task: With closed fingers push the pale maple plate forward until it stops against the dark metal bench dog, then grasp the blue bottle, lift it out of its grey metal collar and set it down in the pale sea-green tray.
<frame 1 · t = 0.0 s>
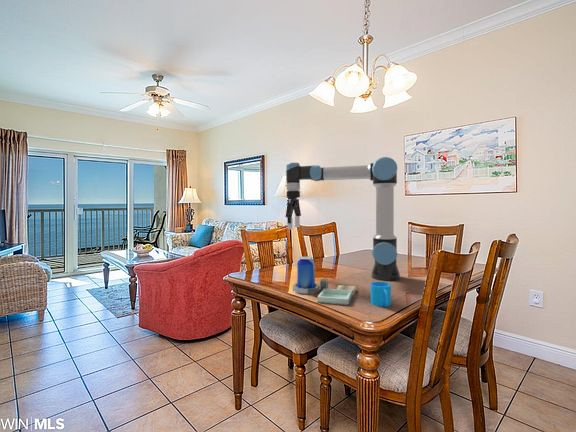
hand: (293, 228, 176), 28 cm above the table, fingers open, 13 cm apart
dog: (324, 290, 151), on the table
plate: (346, 293, 148), on the table
mug: (382, 305, 129), on the table
blue bottle: (306, 290, 152), resting in collar
collar: (306, 290, 152), on the table
tray: (335, 299, 138), on the table
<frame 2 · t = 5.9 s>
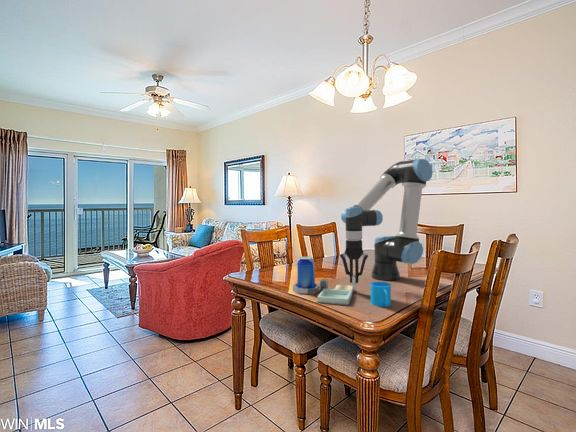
hand: (354, 289, 147), 1 cm above the table, fingers closed
plate: (344, 292, 148), on the table, touching gripper
everything else where it was.
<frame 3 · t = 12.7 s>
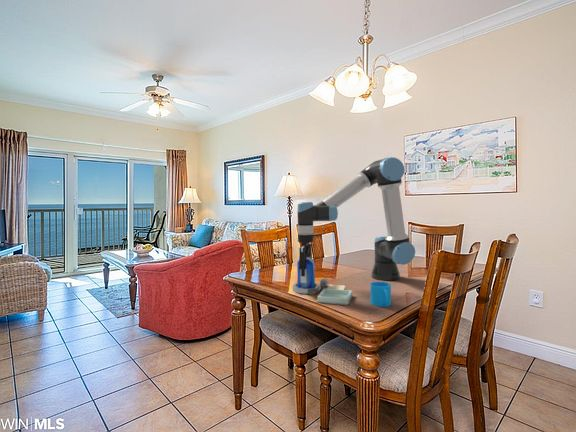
hand: (306, 280, 152), 5 cm above the table, fingers closed on blue bottle, 8 cm apart
plate: (336, 292, 149), on the table
blue bottle: (306, 290, 152), resting in collar, touching gripper
everything else where it was.
when the fingers open (7 cm above the table, at t = 18.9 s): blue bottle drops 1 cm, resting on tray.
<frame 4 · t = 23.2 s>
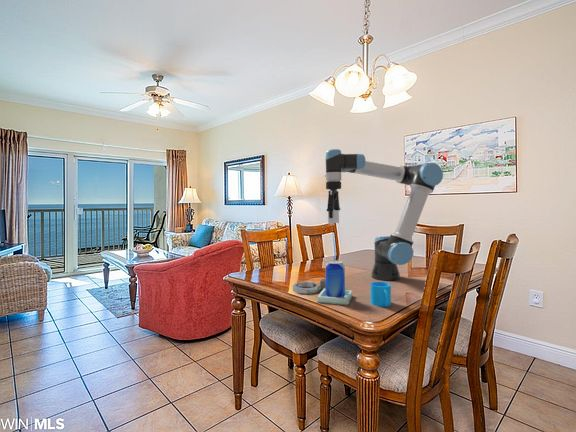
hand: (333, 223, 156), 32 cm above the table, fingers open, 13 cm apart
blue bottle: (335, 298, 138), resting on tray
everything else where it was.
at the end: plate 0.4 cm from the target spot, on the table; blue bottle 0.0 cm from the tray (horizontally); blue bottle tilted 0° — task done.
